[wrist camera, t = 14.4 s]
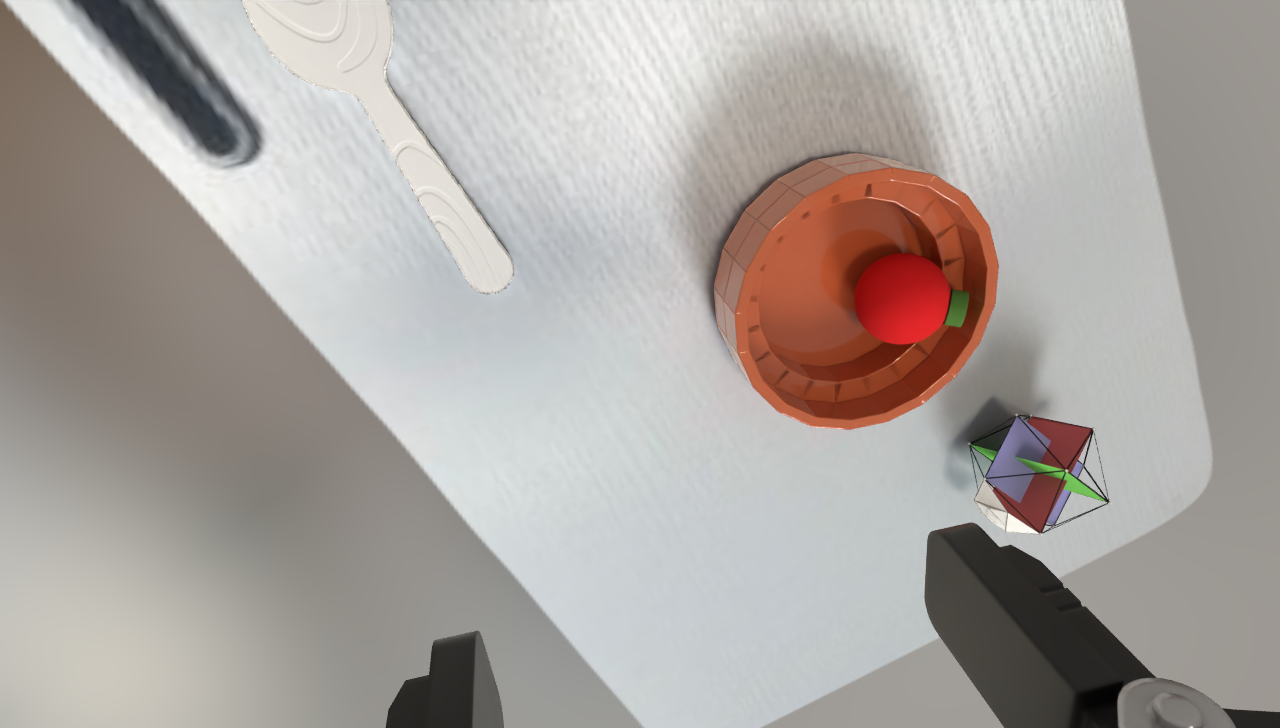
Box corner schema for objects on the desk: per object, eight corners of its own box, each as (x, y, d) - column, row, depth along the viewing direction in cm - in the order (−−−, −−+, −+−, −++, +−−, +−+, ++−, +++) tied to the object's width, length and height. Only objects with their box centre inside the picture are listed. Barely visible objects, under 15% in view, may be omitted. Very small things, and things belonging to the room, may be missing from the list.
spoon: (455, 314, 37) (454, 318, 36) (194, -59, 29) (189, -61, 28) (549, 262, 37) (550, 265, 36) (312, -131, 29) (309, -133, 28)
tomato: (858, 270, 35) (977, 289, 34) (867, 231, 39) (976, 248, 37) (842, 351, 38) (952, 373, 36) (852, 308, 41) (953, 326, 40)
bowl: (700, 175, 36) (725, 195, 32) (955, 132, 38) (1009, 146, 34) (721, 409, 42) (745, 451, 38) (941, 365, 43) (986, 401, 39)
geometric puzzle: (1055, 366, 42) (1069, 493, 38) (1122, 422, 45) (1143, 547, 40) (944, 407, 47) (945, 522, 43) (1009, 455, 50) (1017, 569, 45)
